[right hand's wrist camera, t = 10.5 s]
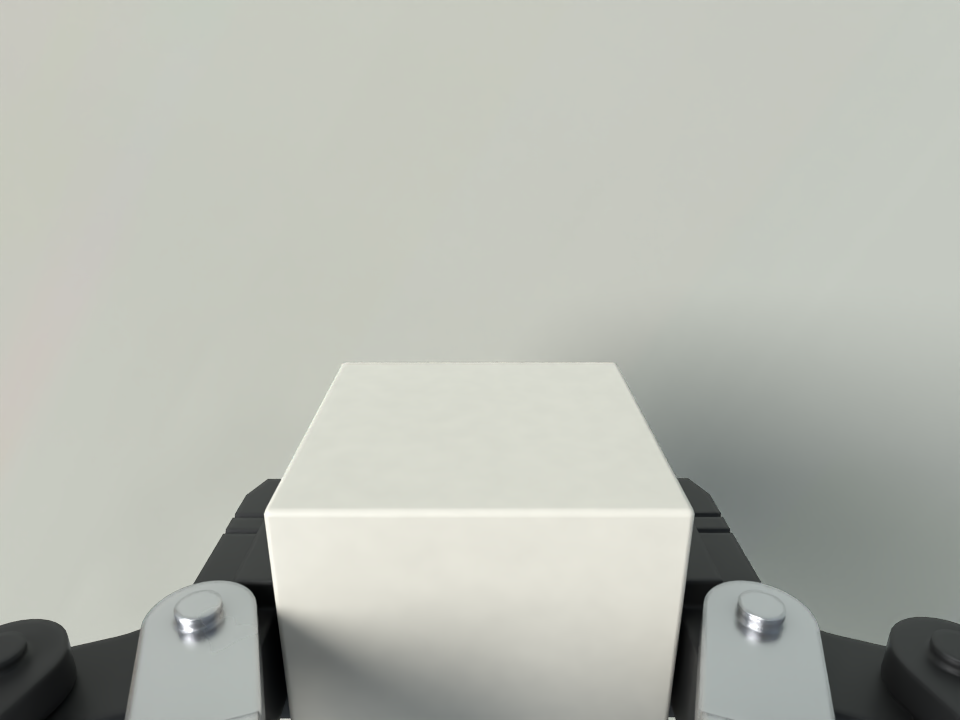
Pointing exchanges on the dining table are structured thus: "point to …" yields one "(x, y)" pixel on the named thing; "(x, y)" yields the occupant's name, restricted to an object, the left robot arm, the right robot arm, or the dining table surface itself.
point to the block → (479, 547)
